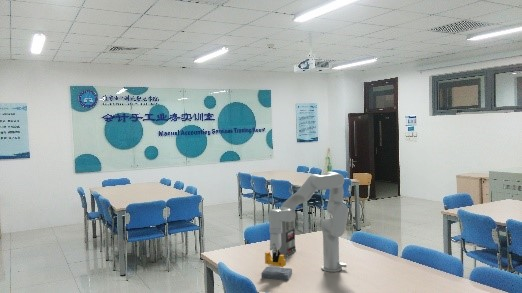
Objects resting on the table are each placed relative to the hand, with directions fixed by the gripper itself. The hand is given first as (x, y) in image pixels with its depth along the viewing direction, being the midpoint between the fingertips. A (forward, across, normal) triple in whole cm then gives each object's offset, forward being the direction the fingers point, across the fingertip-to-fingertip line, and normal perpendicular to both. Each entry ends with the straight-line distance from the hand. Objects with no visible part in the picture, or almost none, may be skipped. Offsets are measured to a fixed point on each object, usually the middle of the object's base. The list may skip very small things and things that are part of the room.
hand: (276, 260), depth 241 cm
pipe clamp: (+3, 0, -1) cm, 3 cm away
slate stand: (+9, 0, 0) cm, 9 cm away
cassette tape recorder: (+10, -43, -3) cm, 44 cm away
